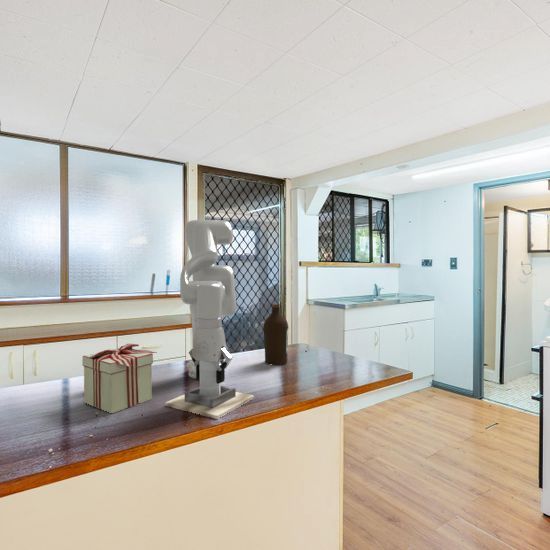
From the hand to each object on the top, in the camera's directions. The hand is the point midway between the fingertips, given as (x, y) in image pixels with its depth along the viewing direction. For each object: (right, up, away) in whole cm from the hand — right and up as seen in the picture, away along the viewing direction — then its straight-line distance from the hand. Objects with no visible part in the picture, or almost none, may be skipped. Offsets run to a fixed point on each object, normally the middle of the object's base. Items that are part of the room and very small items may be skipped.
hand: (210, 379), depth 118 cm
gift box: (-27, -7, +1) cm, 28 cm away
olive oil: (+21, -5, +45) cm, 50 cm away
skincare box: (0, -6, 0) cm, 6 cm away
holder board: (0, -7, 0) cm, 7 cm away
